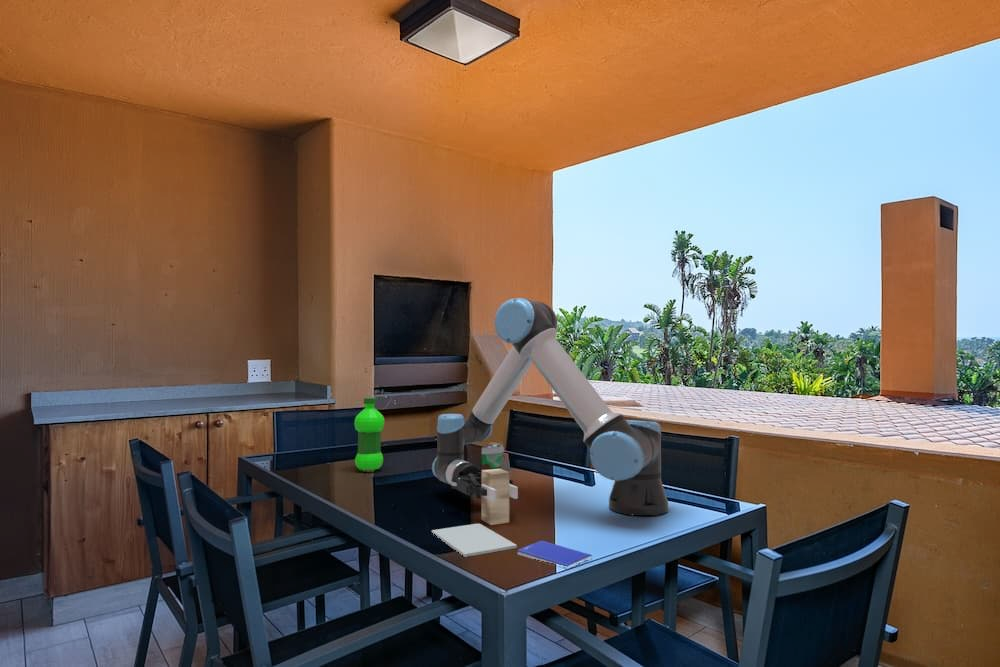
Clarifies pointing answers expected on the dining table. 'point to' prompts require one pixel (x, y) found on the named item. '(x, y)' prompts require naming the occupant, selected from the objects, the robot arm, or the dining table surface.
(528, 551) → the hard drive
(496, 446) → the food container
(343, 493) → the dining table surface
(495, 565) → the dining table surface
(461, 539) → the rubber mat
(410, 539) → the dining table surface
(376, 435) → the plastic bottle
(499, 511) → the birch block
